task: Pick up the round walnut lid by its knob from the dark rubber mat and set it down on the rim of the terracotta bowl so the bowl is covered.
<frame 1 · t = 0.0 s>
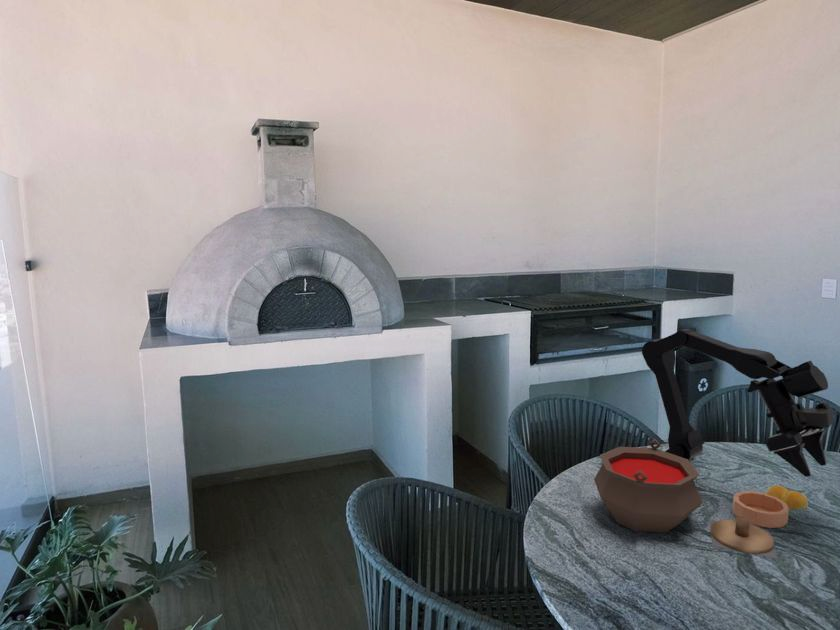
hand: (816, 470, 128), 15 cm above the table, tool tilted 35°, fingers open, 9 cm apart
mat: (740, 541, 127), on the table
bread roll: (784, 504, 144), on the table
bowl: (759, 518, 136), on the table
brown soup pot: (643, 519, 136), on the table
lid: (741, 538, 126), point 1 cm above the table, touching mat
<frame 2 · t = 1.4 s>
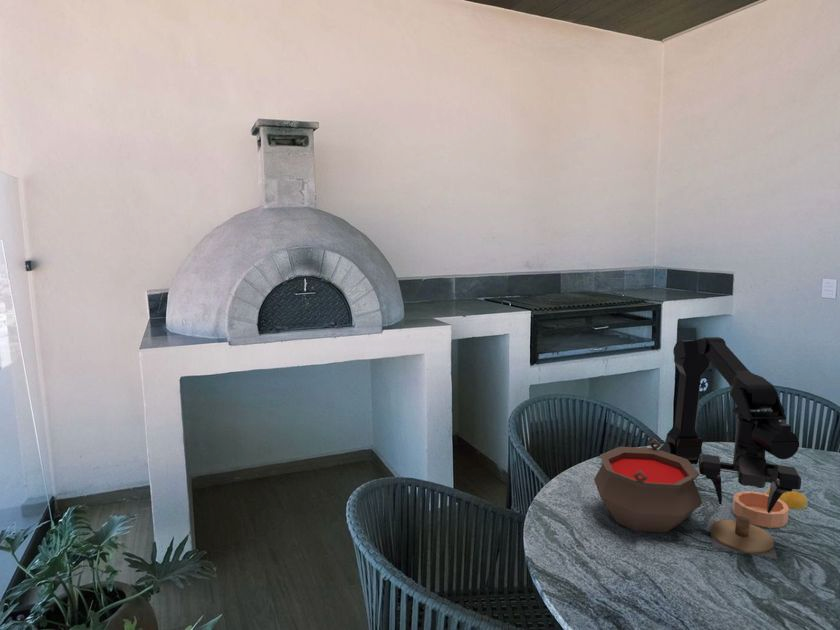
hand: (743, 507, 125), 8 cm above the table, tool pointing down, fingers open, 9 cm apart
nothing on the table moved.
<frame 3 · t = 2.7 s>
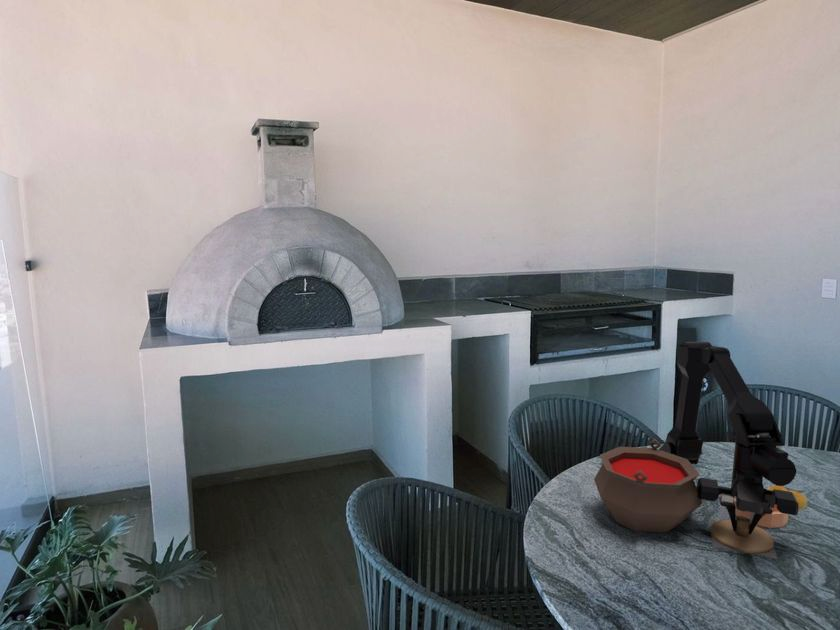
hand: (741, 531, 126), 2 cm above the table, tool pointing down, fingers closed on lid, 3 cm apart
lid: (741, 537, 126), point 1 cm above the table, touching gripper, mat
everything else where it was.
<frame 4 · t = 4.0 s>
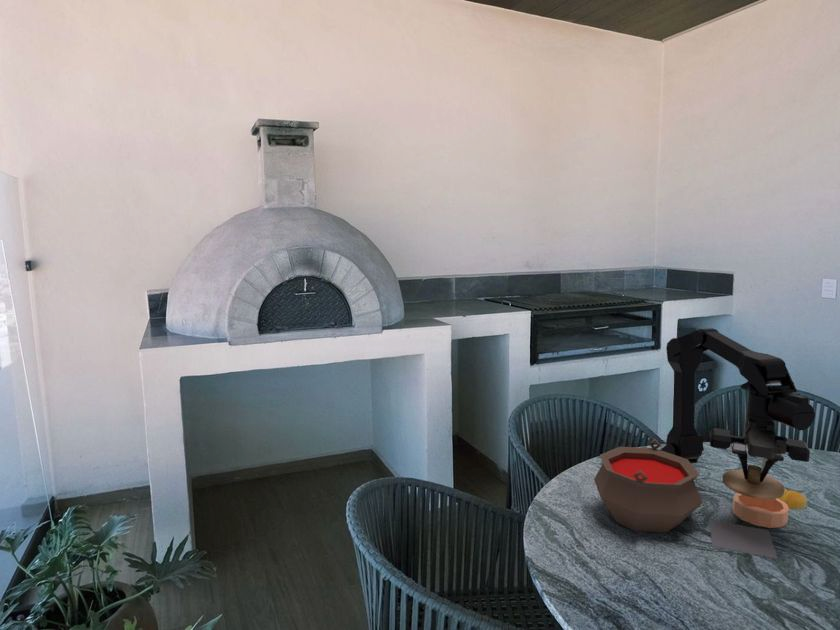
hand: (753, 480, 129), 12 cm above the table, tool pointing down, fingers closed on lid, 3 cm apart
lid: (752, 486, 129), point 11 cm above the table, touching gripper
everything else where it was.
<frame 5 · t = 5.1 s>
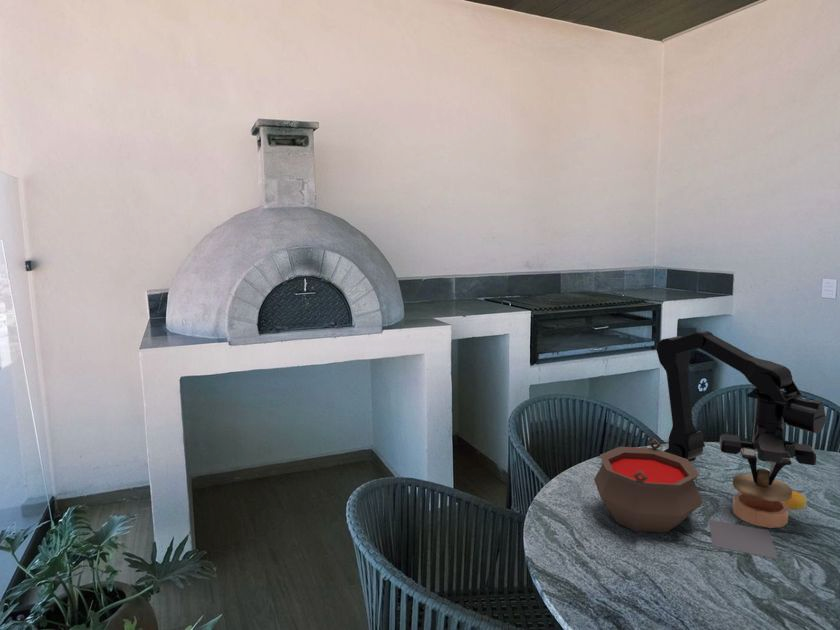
hand: (762, 483, 135), 9 cm above the table, tool pointing down, fingers closed on lid, 3 cm apart
lid: (761, 489, 135), point 7 cm above the table, touching gripper
everything else where it was.
when the fingers open (7 cm above the table, at t = 5.7 s): lid drops 1 cm, resting on bowl.
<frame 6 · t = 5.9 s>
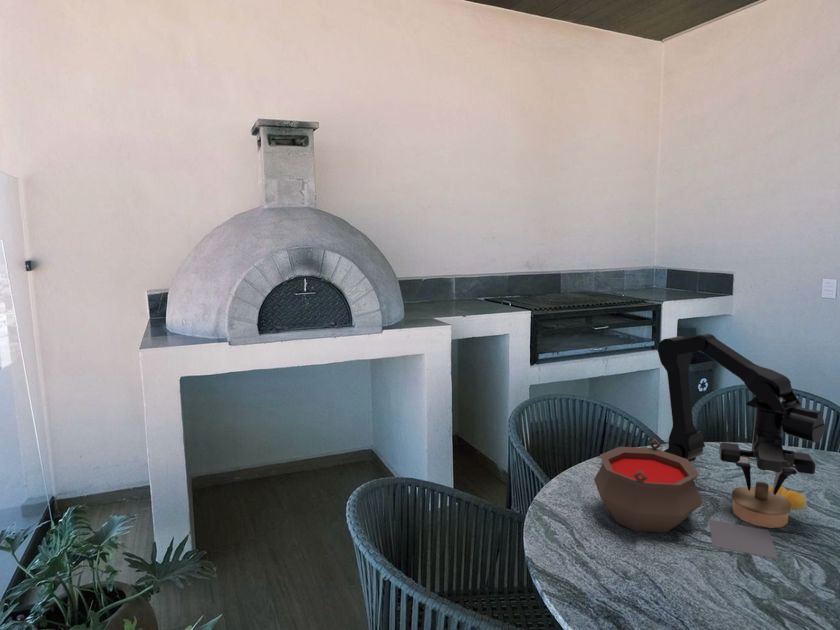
hand: (761, 491, 135), 7 cm above the table, tool pointing down, fingers open, 5 cm apart
lid: (760, 502, 136), point 4 cm above the table, touching bowl
everything else where it was.
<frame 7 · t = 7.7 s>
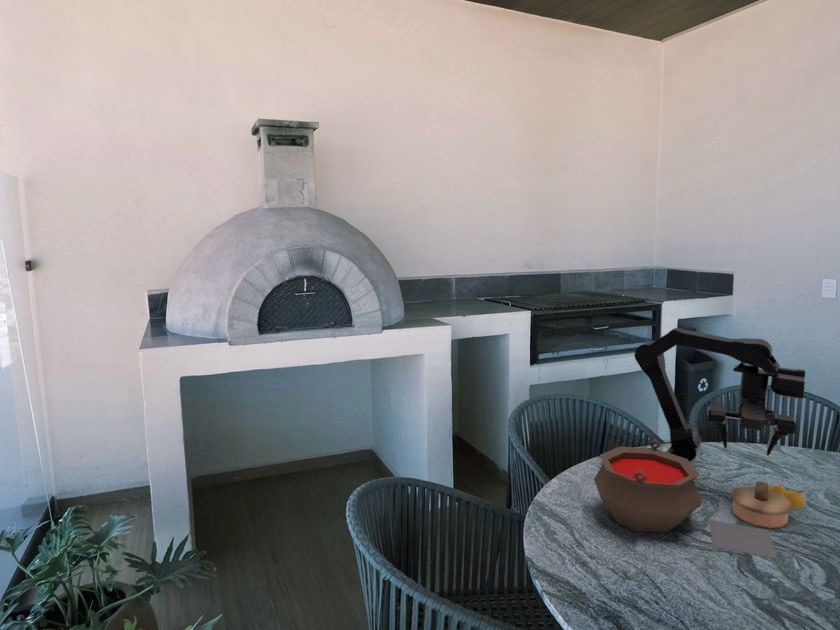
hand: (746, 451, 143), 13 cm above the table, tool pointing down, fingers open, 9 cm apart
nothing on the table moved.
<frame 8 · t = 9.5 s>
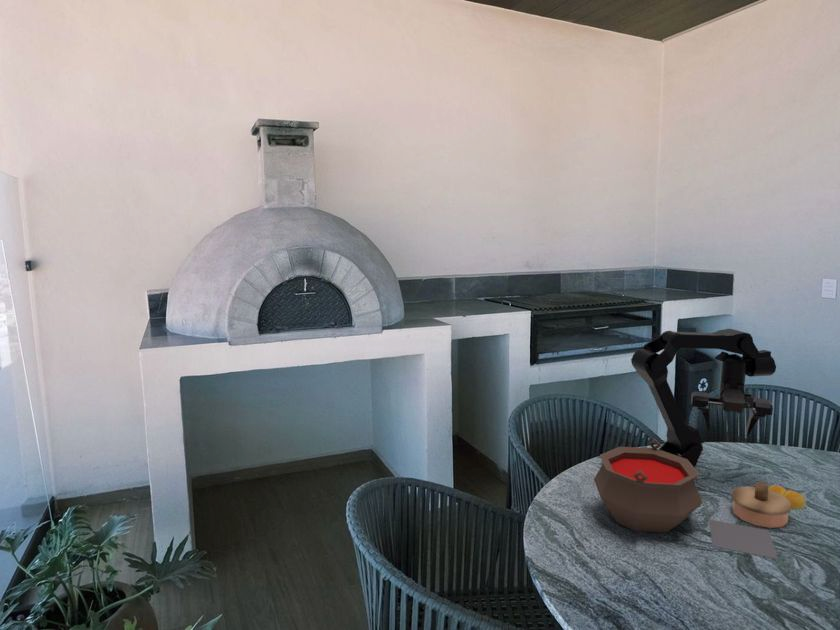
hand: (727, 433, 155), 13 cm above the table, tool pointing down, fingers open, 9 cm apart
nothing on the table moved.
at the end: lid 0.0 cm off-centre on the bowl, point 4.0 cm above the bowl's base; lid tilted 0°; the gripper is holding nothing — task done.
